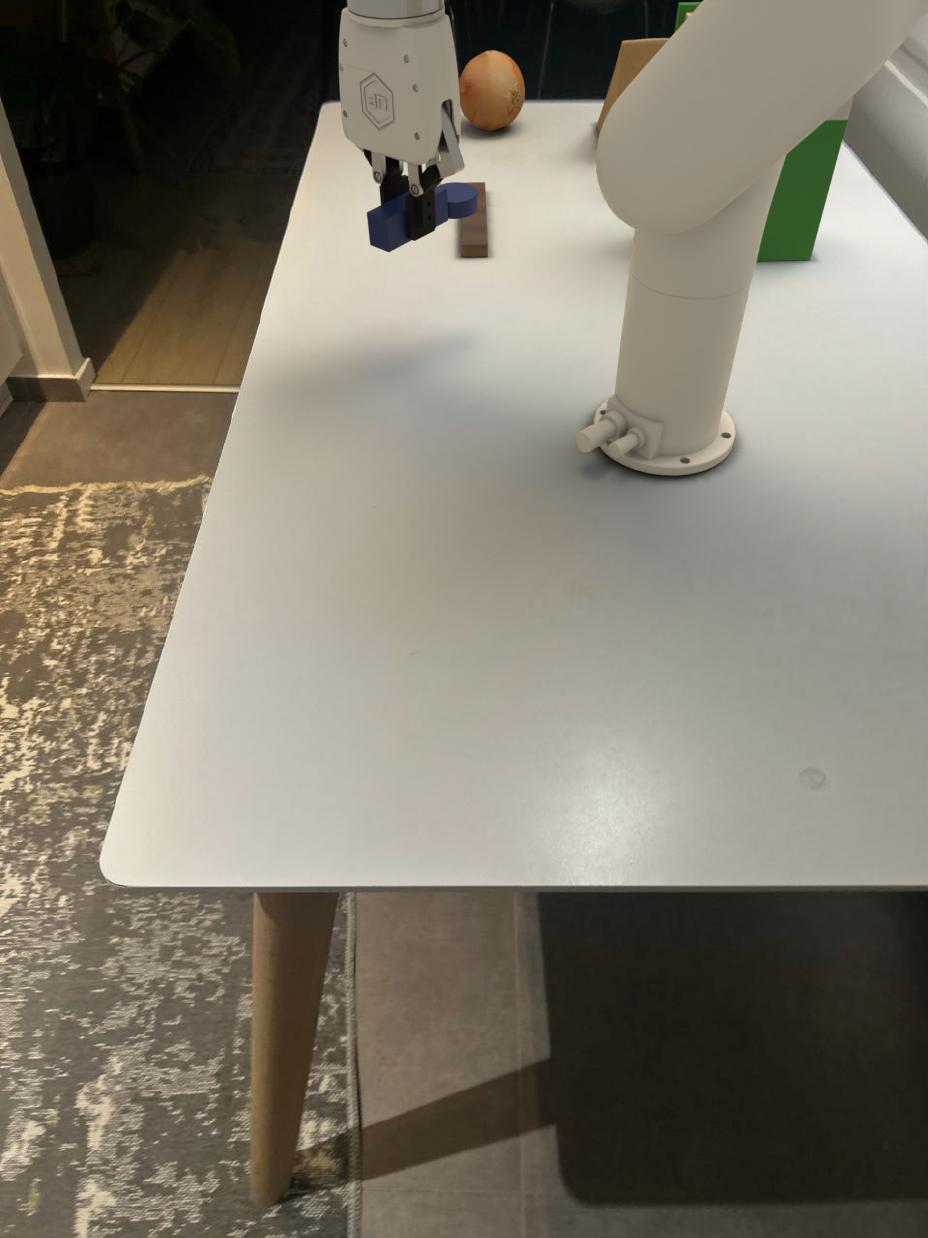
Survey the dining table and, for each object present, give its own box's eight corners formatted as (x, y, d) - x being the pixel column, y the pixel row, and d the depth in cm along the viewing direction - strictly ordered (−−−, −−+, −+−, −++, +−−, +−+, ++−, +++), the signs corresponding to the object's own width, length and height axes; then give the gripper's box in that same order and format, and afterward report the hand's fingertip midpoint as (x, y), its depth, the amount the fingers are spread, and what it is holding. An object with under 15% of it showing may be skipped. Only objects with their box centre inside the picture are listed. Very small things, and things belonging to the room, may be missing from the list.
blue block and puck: (397, 256, 81) (394, 222, 79) (361, 242, 83) (358, 208, 81) (487, 206, 87) (487, 174, 85) (452, 194, 89) (451, 162, 87)
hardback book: (657, 263, 106) (692, 22, 89) (647, 234, 111) (678, 2, 94) (810, 259, 106) (874, 18, 89) (793, 231, 111) (851, -2, 94)
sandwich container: (652, 122, 137) (667, 4, 126) (672, 162, 127) (689, 37, 116) (595, 124, 137) (604, 6, 126) (609, 164, 126) (621, 39, 116)
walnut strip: (487, 256, 108) (487, 244, 107) (462, 257, 108) (462, 244, 107) (485, 193, 121) (485, 181, 119) (462, 193, 121) (462, 182, 119)
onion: (502, 145, 132) (504, 66, 125) (445, 132, 136) (443, 55, 128) (536, 124, 137) (539, 47, 130) (480, 112, 141) (480, 37, 134)
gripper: (288, -15, 72) (319, 220, 86) (440, 20, 65) (448, 271, 78) (356, -34, 76) (375, 194, 89) (507, -2, 69) (504, 240, 82)
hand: (409, 228), depth 84 cm, fingers closed on blue block and puck, 2 cm apart
